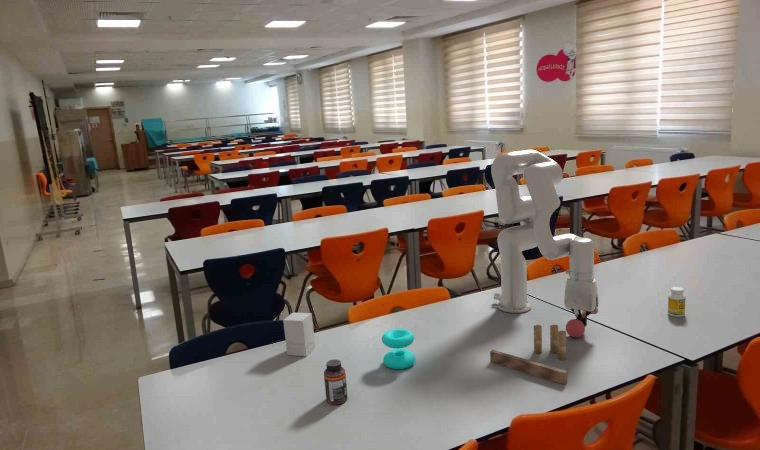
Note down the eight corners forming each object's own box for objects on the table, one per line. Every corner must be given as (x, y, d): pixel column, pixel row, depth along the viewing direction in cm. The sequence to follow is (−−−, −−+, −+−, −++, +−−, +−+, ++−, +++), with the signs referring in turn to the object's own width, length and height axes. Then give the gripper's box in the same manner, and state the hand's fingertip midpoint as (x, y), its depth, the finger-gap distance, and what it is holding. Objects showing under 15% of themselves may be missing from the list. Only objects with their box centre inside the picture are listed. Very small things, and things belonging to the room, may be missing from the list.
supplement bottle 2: (672, 310, 198) (673, 285, 196) (687, 314, 193) (689, 288, 191) (664, 314, 195) (665, 288, 193) (679, 318, 190) (680, 292, 188)
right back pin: (556, 358, 167) (556, 332, 165) (560, 355, 168) (560, 329, 167) (563, 360, 165) (563, 334, 163) (567, 357, 167) (567, 331, 165)
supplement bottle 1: (326, 395, 154) (322, 358, 152) (347, 393, 155) (344, 356, 152) (326, 406, 148) (322, 368, 146) (348, 404, 149) (344, 365, 146)
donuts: (403, 324, 175) (419, 334, 167) (405, 353, 177) (421, 365, 169) (375, 332, 171) (391, 343, 162) (378, 361, 173) (393, 374, 164)
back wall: (490, 361, 168) (490, 351, 167) (493, 360, 169) (492, 349, 168) (564, 384, 151) (564, 373, 150) (567, 382, 152) (567, 371, 151)
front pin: (548, 351, 172) (548, 326, 170) (552, 349, 173) (552, 323, 172) (556, 353, 170) (556, 328, 168) (559, 351, 172) (559, 325, 170)
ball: (565, 337, 184) (560, 328, 180) (572, 322, 186) (568, 313, 182) (582, 343, 180) (578, 334, 176) (589, 327, 182) (585, 318, 178)
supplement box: (316, 347, 187) (312, 312, 184) (306, 357, 180) (302, 321, 177) (296, 346, 189) (293, 311, 187) (286, 355, 182) (282, 319, 180)
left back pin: (532, 352, 172) (532, 326, 171) (536, 349, 174) (536, 324, 172) (539, 353, 171) (539, 328, 169) (543, 351, 172) (543, 325, 171)
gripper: (555, 275, 183) (555, 326, 186) (600, 281, 173) (599, 336, 176) (564, 269, 188) (564, 319, 192) (608, 275, 178) (608, 328, 182)
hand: (581, 327), depth 184 cm, fingers closed
